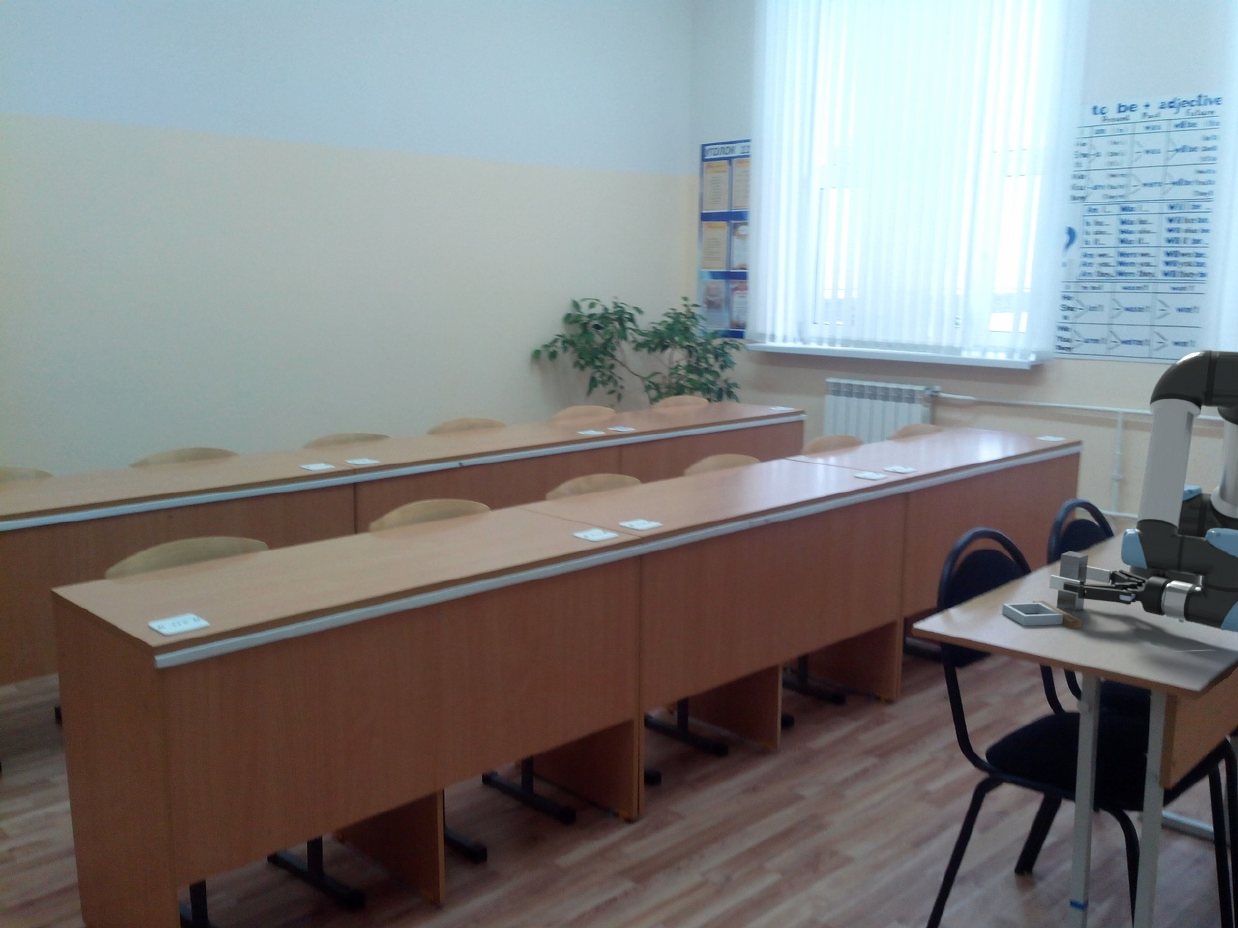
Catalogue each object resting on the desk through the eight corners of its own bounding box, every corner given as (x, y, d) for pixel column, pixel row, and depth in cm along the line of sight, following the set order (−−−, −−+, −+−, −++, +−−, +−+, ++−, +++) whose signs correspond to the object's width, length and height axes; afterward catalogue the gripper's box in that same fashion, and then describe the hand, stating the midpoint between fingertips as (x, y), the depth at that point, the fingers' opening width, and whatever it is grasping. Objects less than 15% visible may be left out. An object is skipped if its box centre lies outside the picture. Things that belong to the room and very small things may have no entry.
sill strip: (1043, 607, 228) (1043, 600, 228) (1081, 627, 215) (1081, 620, 214) (1032, 607, 228) (1033, 601, 227) (1070, 628, 214) (1070, 621, 214)
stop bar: (1065, 604, 231) (1070, 551, 229) (1083, 608, 228) (1088, 554, 226) (1056, 607, 228) (1061, 553, 226) (1074, 611, 225) (1079, 557, 223)
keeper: (1039, 611, 225) (1039, 602, 225) (1062, 623, 217) (1063, 614, 216) (1002, 612, 224) (1002, 603, 223) (1023, 625, 215) (1024, 616, 215)
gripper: (1141, 628, 205) (1036, 603, 220) (1190, 604, 221) (1089, 582, 237) (1144, 591, 203) (1039, 568, 219) (1194, 570, 220) (1092, 550, 235)
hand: (1065, 575), depth 228 cm, fingers open, 13 cm apart
